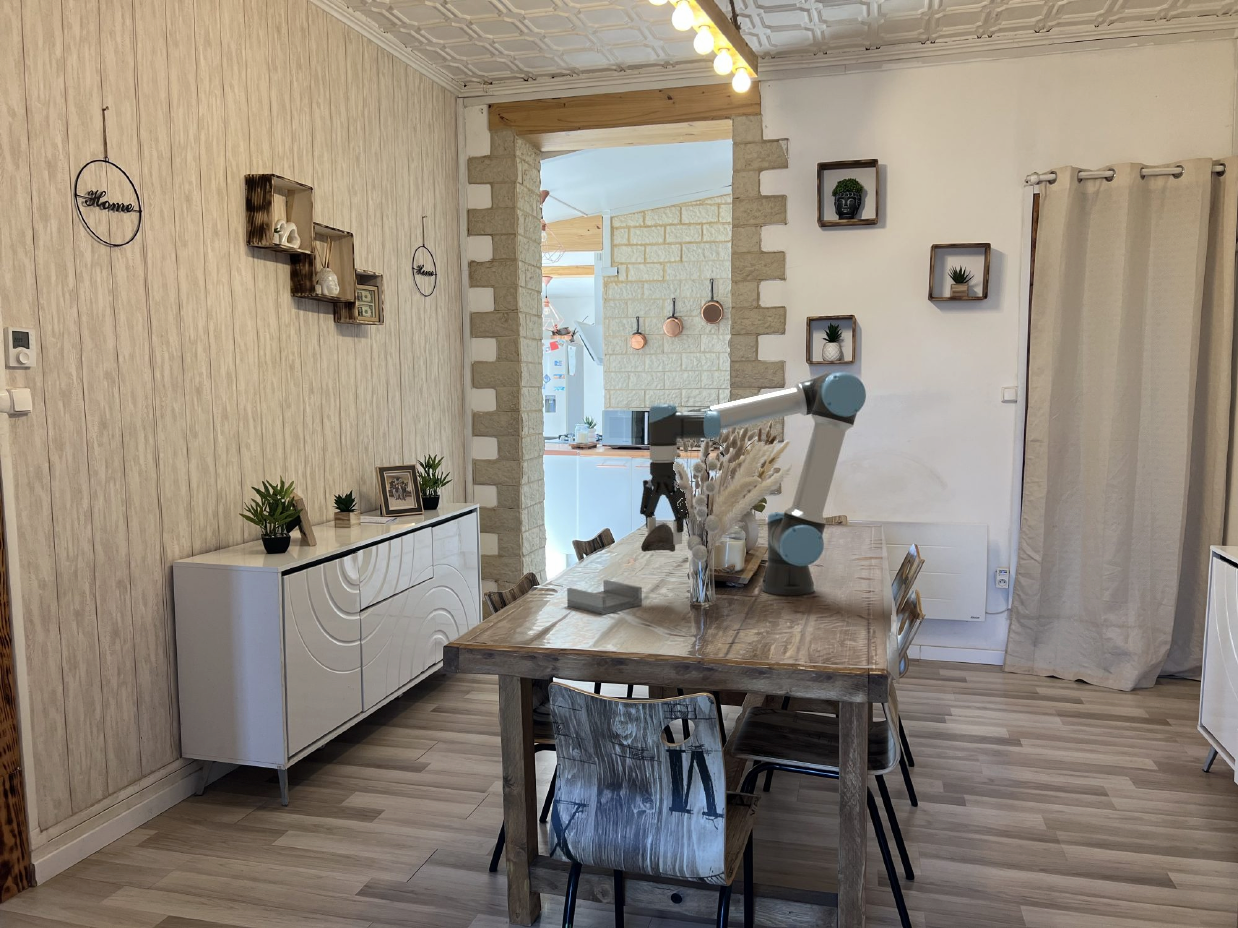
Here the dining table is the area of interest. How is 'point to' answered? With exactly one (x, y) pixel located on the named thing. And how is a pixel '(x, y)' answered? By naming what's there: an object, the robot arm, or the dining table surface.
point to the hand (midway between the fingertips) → (664, 542)
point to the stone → (659, 539)
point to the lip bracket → (606, 598)
